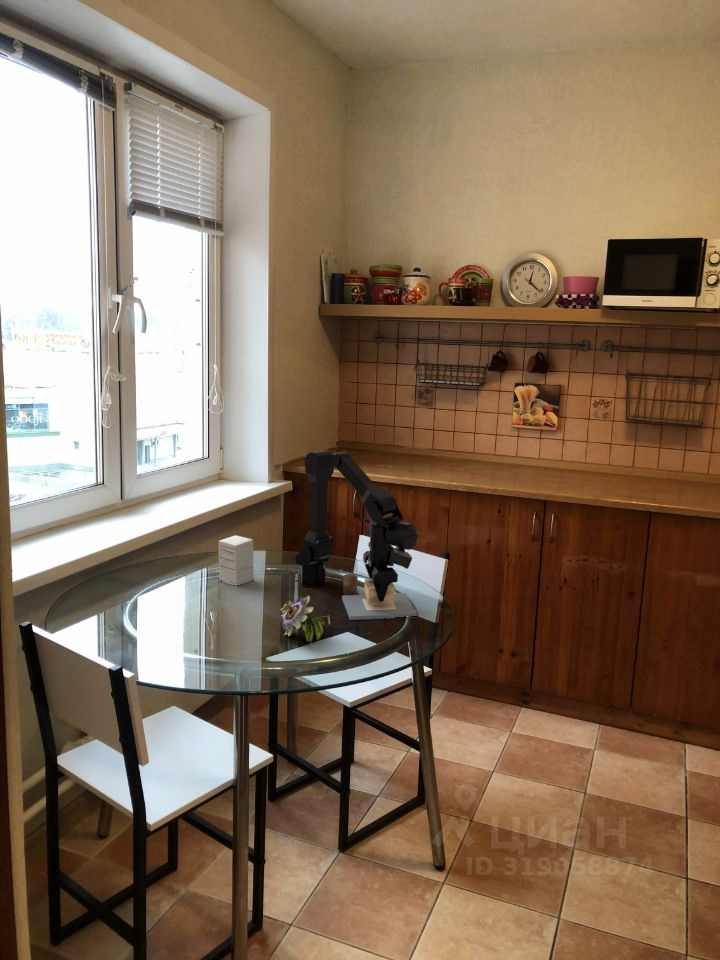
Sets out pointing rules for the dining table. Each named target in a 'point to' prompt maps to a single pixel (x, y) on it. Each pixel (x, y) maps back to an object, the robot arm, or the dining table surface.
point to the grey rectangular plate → (377, 608)
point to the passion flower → (301, 618)
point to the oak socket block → (372, 595)
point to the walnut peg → (350, 584)
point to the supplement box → (236, 560)
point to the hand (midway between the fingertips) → (378, 596)
